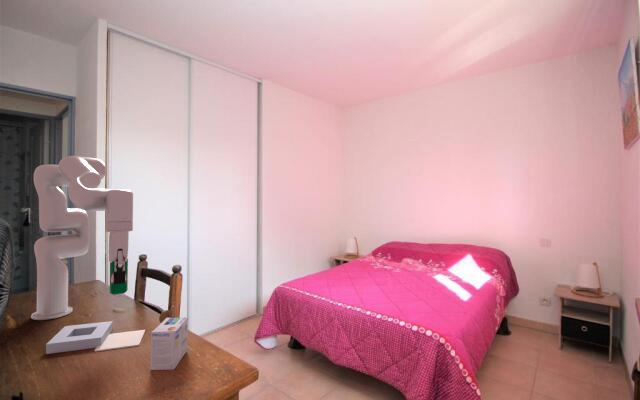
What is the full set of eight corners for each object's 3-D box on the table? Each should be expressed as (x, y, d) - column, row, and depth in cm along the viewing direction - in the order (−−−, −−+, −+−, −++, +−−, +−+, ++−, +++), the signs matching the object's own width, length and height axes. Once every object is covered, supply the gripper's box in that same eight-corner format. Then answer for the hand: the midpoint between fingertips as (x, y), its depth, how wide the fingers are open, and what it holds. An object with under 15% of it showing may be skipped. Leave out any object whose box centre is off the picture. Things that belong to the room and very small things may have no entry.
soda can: (109, 296, 100) (109, 258, 100) (109, 292, 104) (110, 256, 104) (127, 293, 102) (128, 257, 102) (127, 289, 107) (127, 254, 107)
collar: (64, 334, 107) (65, 326, 107) (112, 329, 112) (112, 321, 112) (46, 354, 94) (46, 344, 94) (101, 346, 99) (101, 337, 99)
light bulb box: (165, 351, 96) (166, 316, 96) (187, 351, 97) (188, 316, 97) (149, 370, 86) (150, 331, 86) (174, 370, 86) (175, 331, 86)
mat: (105, 335, 107) (105, 334, 107) (145, 330, 111) (145, 329, 111) (94, 351, 96) (94, 350, 96) (139, 345, 100) (139, 344, 100)
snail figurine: (180, 338, 106) (181, 302, 106) (165, 346, 100) (166, 309, 100) (168, 335, 108) (168, 300, 108) (152, 343, 102) (153, 306, 101)
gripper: (105, 225, 108) (104, 277, 108) (106, 229, 94) (105, 289, 94) (130, 224, 112) (129, 274, 112) (135, 228, 98) (134, 285, 98)
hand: (118, 280), depth 103 cm, fingers closed on soda can, 5 cm apart
